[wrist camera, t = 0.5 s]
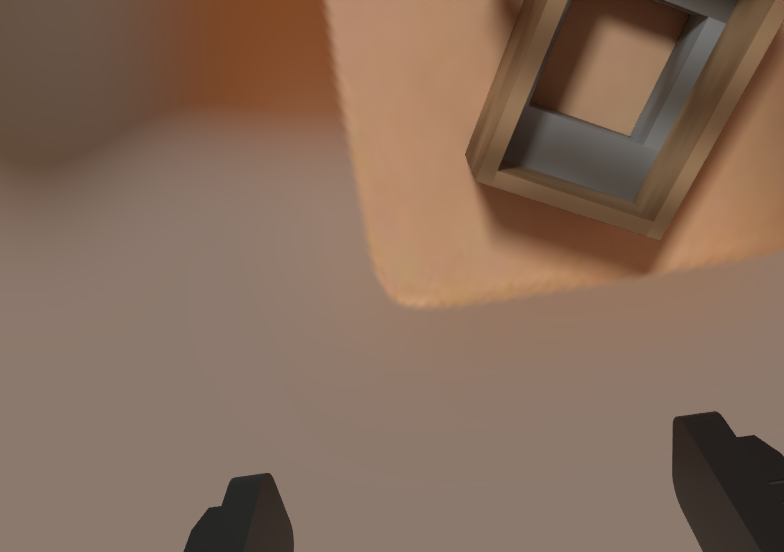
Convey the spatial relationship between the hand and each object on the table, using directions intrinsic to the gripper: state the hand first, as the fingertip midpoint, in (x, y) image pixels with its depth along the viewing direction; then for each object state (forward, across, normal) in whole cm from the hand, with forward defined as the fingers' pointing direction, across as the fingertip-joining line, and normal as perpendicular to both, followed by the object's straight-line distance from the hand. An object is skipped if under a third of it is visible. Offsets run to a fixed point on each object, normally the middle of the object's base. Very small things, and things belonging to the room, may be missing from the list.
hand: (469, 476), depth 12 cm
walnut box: (+25, -10, -3) cm, 27 cm away
